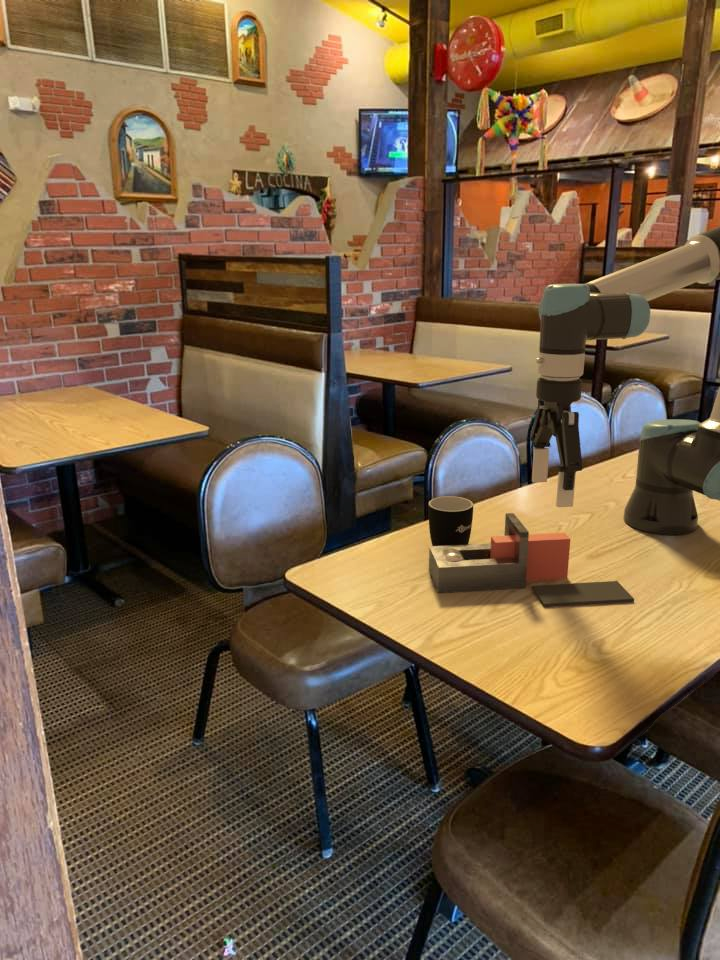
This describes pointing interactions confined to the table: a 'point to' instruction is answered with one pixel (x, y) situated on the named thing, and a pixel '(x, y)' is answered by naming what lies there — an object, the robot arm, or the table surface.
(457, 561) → the frame
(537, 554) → the orange block
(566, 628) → the table surface
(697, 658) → the table surface
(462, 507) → the mug
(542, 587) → the pad
